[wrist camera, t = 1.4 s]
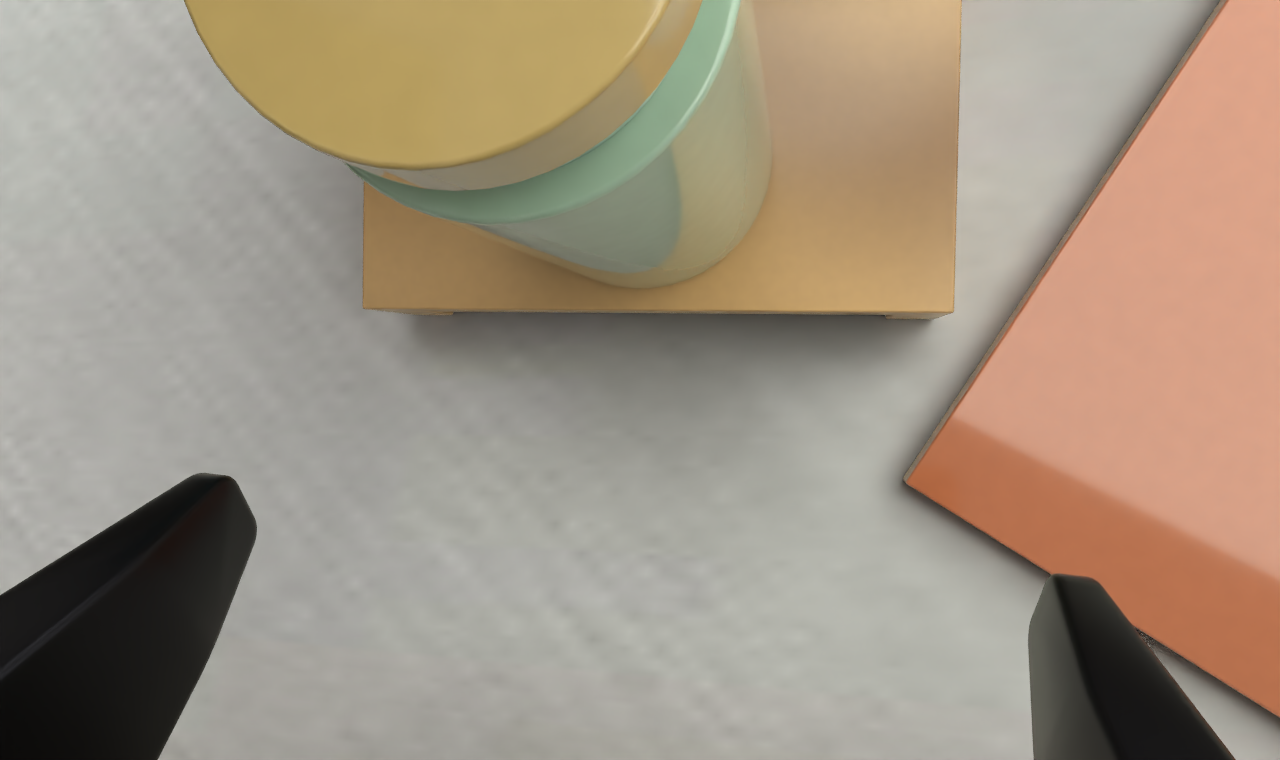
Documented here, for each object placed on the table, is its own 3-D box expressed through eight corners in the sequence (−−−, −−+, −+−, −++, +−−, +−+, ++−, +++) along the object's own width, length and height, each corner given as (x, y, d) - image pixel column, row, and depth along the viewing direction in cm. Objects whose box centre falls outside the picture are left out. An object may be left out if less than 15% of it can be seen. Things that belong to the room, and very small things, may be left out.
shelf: (934, 319, 22) (1019, 291, 14) (414, 315, 25) (199, 289, 16) (945, -102, 22) (1038, -410, 13) (418, -64, 25) (203, -301, 16)
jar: (590, 335, 21) (307, 299, 9) (476, 115, 21) (57, -200, 9) (820, 208, 20) (845, -24, 8) (695, -21, 20) (541, -569, 8)
